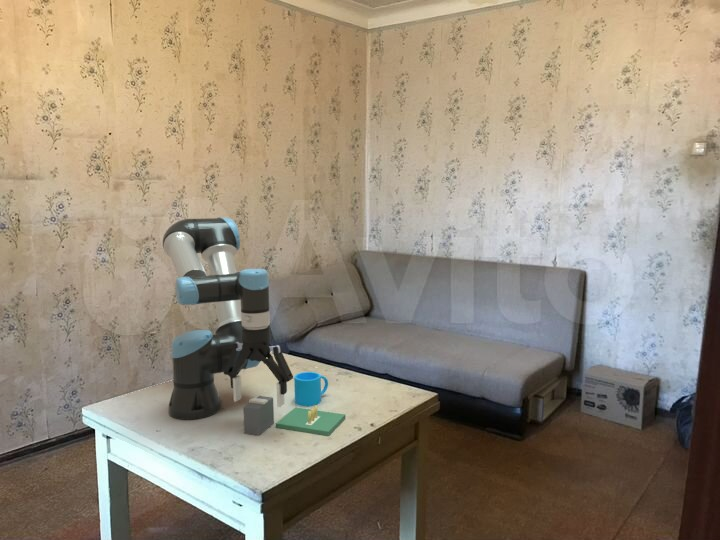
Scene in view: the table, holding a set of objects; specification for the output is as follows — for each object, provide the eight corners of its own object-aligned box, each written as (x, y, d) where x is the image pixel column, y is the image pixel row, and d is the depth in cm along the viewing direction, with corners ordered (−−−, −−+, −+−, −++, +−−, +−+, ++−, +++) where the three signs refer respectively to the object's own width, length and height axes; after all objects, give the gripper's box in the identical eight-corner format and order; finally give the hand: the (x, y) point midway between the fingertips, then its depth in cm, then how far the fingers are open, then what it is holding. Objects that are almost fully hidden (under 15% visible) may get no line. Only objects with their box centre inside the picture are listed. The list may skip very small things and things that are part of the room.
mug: (305, 408, 164) (304, 382, 163) (289, 401, 170) (289, 376, 169) (335, 398, 172) (335, 373, 171) (320, 391, 178) (319, 367, 177)
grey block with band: (244, 433, 147) (243, 404, 146) (260, 421, 155) (259, 393, 154) (258, 435, 146) (257, 406, 145) (274, 423, 154) (273, 395, 152)
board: (275, 427, 151) (275, 411, 150) (295, 411, 162) (295, 396, 161) (328, 435, 145) (328, 419, 145) (345, 418, 157) (345, 402, 156)
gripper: (208, 326, 147) (212, 402, 150) (290, 333, 138) (293, 412, 141) (224, 320, 154) (227, 392, 157) (303, 326, 145) (306, 402, 148)
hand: (259, 402), depth 149 cm, fingers open, 13 cm apart
